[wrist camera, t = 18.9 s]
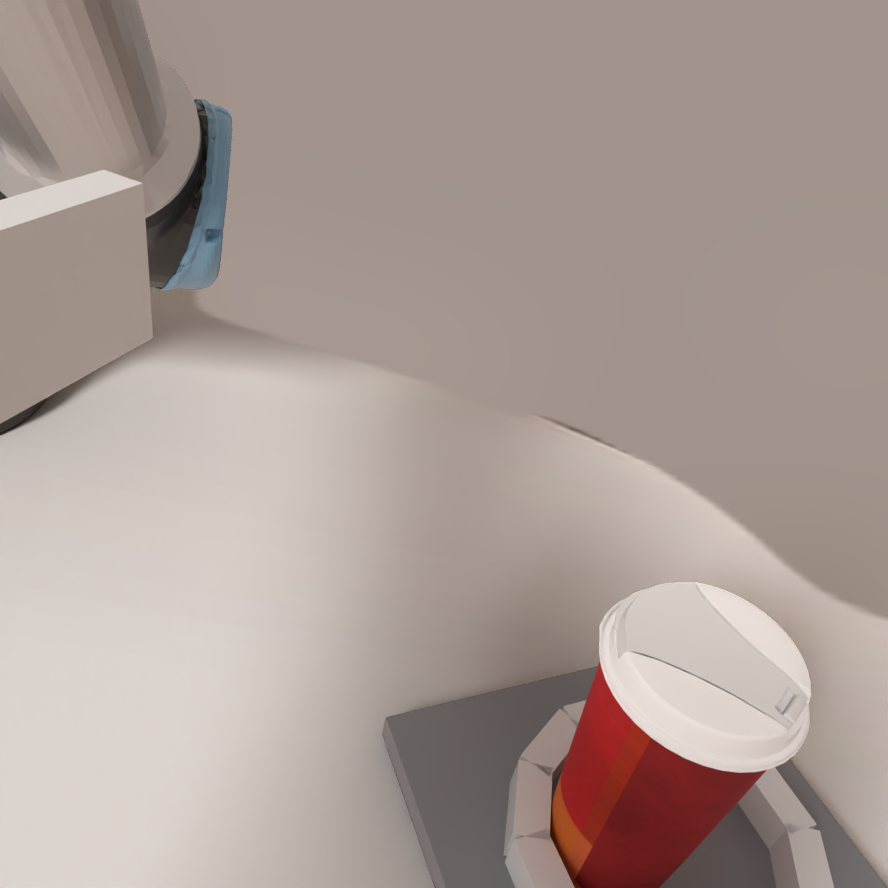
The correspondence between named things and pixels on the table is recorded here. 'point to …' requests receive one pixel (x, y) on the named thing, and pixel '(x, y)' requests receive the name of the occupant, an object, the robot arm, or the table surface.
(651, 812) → the paper cup
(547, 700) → the collar board
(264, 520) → the table surface
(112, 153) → the robot arm
